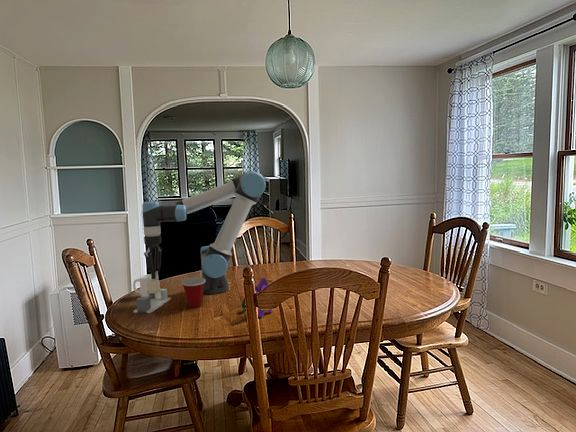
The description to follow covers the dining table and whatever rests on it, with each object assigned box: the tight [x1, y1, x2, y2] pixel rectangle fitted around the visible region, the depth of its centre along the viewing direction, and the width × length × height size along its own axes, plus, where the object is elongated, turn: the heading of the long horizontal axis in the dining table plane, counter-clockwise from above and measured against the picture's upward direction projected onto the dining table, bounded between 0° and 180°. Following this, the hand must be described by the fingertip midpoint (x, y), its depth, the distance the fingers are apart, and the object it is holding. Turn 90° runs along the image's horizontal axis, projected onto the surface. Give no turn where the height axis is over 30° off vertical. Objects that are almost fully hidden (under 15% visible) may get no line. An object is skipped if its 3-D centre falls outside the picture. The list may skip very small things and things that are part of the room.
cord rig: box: [133, 288, 172, 314], centre depth 199 cm, size 20×8×6 cm, turn 170°
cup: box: [132, 273, 152, 297], centre depth 215 cm, size 8×12×10 cm
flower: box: [241, 277, 273, 318], centre depth 185 cm, size 15×15×14 cm
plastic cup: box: [180, 276, 206, 309], centre depth 196 cm, size 11×11×12 cm
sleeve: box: [147, 279, 161, 301], centre depth 200 cm, size 4×5×9 cm
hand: (155, 285), depth 203 cm, fingers closed
